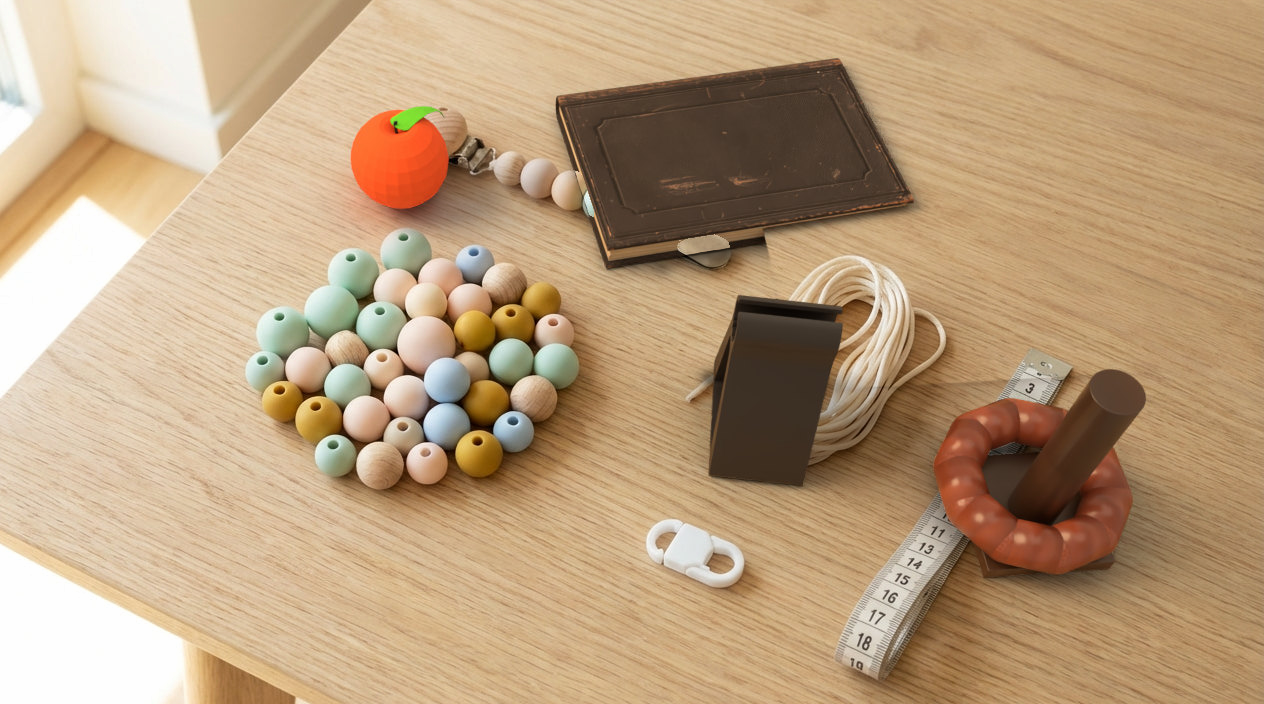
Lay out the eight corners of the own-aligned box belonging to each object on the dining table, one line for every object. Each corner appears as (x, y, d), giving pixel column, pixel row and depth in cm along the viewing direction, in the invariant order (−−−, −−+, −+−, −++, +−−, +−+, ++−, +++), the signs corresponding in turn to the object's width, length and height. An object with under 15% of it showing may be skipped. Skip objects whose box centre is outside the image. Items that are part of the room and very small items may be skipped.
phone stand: (714, 362, 82) (741, 245, 72) (802, 372, 82) (842, 257, 72) (707, 477, 77) (735, 368, 67) (801, 488, 77) (844, 381, 67)
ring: (1081, 408, 80) (1098, 384, 78) (1146, 576, 73) (1166, 555, 71) (910, 418, 79) (922, 394, 77) (959, 588, 72) (974, 568, 70)
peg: (1067, 456, 79) (1162, 327, 68) (1109, 568, 75) (1218, 451, 63) (948, 464, 78) (1023, 335, 67) (983, 578, 74) (1070, 460, 62)
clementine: (414, 138, 93) (407, 65, 87) (480, 184, 90) (478, 112, 85) (336, 194, 89) (323, 122, 83) (402, 244, 87) (394, 173, 81)
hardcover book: (906, 221, 90) (914, 199, 88) (605, 269, 86) (607, 247, 84) (831, 75, 99) (837, 53, 97) (554, 113, 95) (555, 91, 93)
